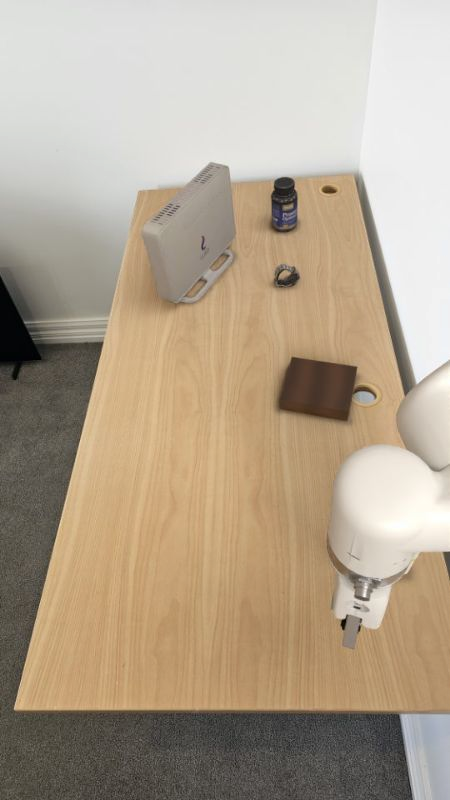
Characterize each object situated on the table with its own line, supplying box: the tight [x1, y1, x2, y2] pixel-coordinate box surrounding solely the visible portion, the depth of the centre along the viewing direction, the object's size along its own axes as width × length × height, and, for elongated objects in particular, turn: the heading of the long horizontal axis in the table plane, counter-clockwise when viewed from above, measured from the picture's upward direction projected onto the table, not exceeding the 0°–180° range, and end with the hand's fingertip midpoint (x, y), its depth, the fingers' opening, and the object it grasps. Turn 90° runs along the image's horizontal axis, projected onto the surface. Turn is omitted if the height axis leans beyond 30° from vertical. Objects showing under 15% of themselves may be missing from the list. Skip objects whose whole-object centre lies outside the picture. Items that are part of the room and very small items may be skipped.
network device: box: [141, 161, 237, 304], centre depth 106 cm, size 26×9×20 cm, turn 148°
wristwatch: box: [273, 263, 301, 288], centre depth 107 cm, size 3×5×5 cm
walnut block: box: [279, 356, 358, 422], centre depth 90 cm, size 12×10×3 cm
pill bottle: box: [270, 176, 299, 233], centre depth 116 cm, size 6×6×11 cm
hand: (352, 594), depth 60 cm, fingers closed on green cube, 4 cm apart
